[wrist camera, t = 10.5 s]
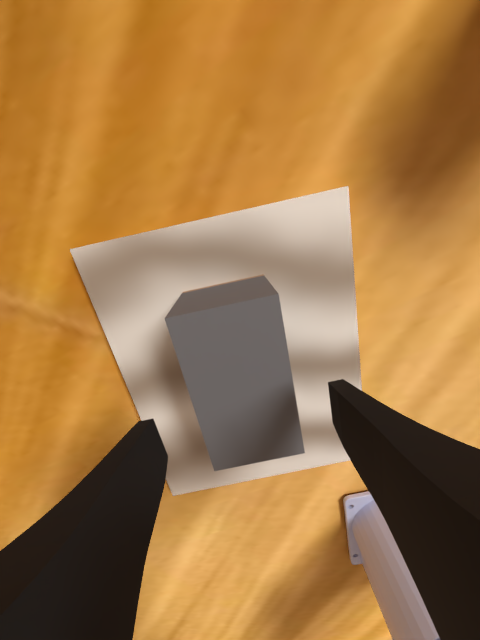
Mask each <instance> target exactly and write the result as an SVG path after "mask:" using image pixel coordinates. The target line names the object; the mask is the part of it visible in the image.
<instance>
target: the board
mask: <svg viewBox="0 0 480 640" xmlns="http://www.w3.org/2000/svg"><path fill="white" fill-rule="evenodd" d="M70 251H71V254H72V256H73V259H74V261H75V263H76V266H77V268H78V271H79V273H80V275H81V278H82V280H83V282H84V285H85V287H86V290H87V292H88V294H89V297H90V299H91V302H92V304H93V306H94V309H95V311H96V313H97V316H98V318H99V321H100V323H101V325H102V328H103V330H104V333H105V335H106V337H107V340H108V342H109V345H110V347H111V349H112V352H113V354H114V356H115V359H116V361H117V364H118V366H119V368H120V371H121V373H122V376H123V378H124V380H125V383H126V385H127V387H128V390H129V392H130V395H131V397H132V399H133V402H134V404H135V407H136V409H137V411H138V414H139V416H140V419H141V421H143V420H148V419H154V422H155V424H156V427H157V429H158V432H159V434H160V437H161V439H162V442H163V444H164V447H165V449H166V452H167V454H168V463H167V472H166V481H167V483H168V485H169V488H170V490H171V493H172V495H173V496H175V495H180V494H185V493H190V492H195V491H200V490H205V489H210V488H215V487H220V486H225V485H230V484H235V483H240V482H245V481H250V480H255V479H260V478H264V477H269V476H274V475H279V474H284V473H289V472H294V471H299V470H304V469H309V468H314V467H319V466H324V465H329V464H334V463H339V462H344V461H349V460H350V458H349V456H348V455H347V453H346V451H345V449H344V448H343V445H342V443H341V441H340V439H339V437H338V434H337V432H336V430H335V427H334V425H333V422H332V413H331V405H330V396H329V388H328V382H331V381H336V380H341V379H344V380H345V381H347V382H349V383H350V384H352V385H353V386H355V387H356V388H358V389H360V390H361V391H362V385H361V370H360V355H359V340H358V325H357V310H356V294H355V279H354V264H353V249H352V234H351V219H350V204H349V189H348V186H346V187H341V188H337V189H333V190H328V191H324V192H320V193H315V194H311V195H306V196H302V197H298V198H293V199H289V200H284V201H280V202H276V203H271V204H267V205H262V206H258V207H254V208H249V209H245V210H241V211H236V212H232V213H227V214H223V215H219V216H214V217H210V218H205V219H201V220H197V221H192V222H188V223H183V224H179V225H175V226H170V227H166V228H161V229H157V230H153V231H148V232H144V233H140V234H135V235H131V236H126V237H122V238H118V239H113V240H109V241H104V242H100V243H96V244H91V245H87V246H82V247H78V248H74V249H70ZM262 274H264V276H265V277H266V278H267V280H268V281H269V282H270V283H271V285H272V286H273V287H274V289H275V290H276V291H277V292H278V294H279V299H280V305H281V311H282V317H283V323H284V329H285V335H286V341H287V347H288V354H289V360H290V366H291V372H292V378H293V384H294V390H295V396H296V402H297V408H298V414H299V420H300V426H301V432H302V438H303V444H304V451H305V453H303V454H298V455H293V456H288V457H284V458H279V459H274V460H269V461H264V462H259V463H254V464H249V465H244V466H239V467H234V468H229V469H224V470H219V471H214V469H213V466H212V463H211V459H210V456H209V453H208V450H207V447H206V444H205V441H204V438H203V435H202V432H201V429H200V426H199V423H198V420H197V417H196V413H195V410H194V407H193V404H192V401H191V398H190V395H189V392H188V389H187V386H186V383H185V380H184V377H183V374H182V371H181V367H180V364H179V361H178V358H177V355H176V352H175V349H174V346H173V343H172V340H171V337H170V334H169V331H168V328H167V325H166V322H165V317H166V316H167V314H168V313H169V311H170V310H171V308H172V307H173V305H174V304H175V303H176V301H177V300H178V298H179V297H180V295H181V294H182V292H184V291H189V290H194V289H198V288H203V287H207V286H212V285H216V284H221V283H226V282H230V281H235V280H239V279H244V278H249V277H253V276H258V275H262Z"/></svg>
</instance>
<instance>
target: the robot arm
mask: <svg viewBox="0 0 480 640" xmlns="http://www.w3.org/2000/svg"><path fill="white" fill-rule="evenodd" d="M328 388H329V396H330V405H331V413H332V422H333V425H334V427H335V430H336V432H337V434H338V437H339V439H340V441H341V443H342V445H343V448H344V449H345V451H346V453H347V455H348V456H349V458H350V460H351V461H352V463H353V465H354V467H355V468H356V470H357V472H358V473H359V475H360V477H361V478H362V480H363V482H364V484H365V485H366V487H367V489H368V490H369V491H367V492H362V493H357V494H351V495H347V496H345V497H344V499H343V503H344V512H345V521H346V530H347V539H348V547H349V556H350V561H351V563H352V564H353V565H358V564H363V567H364V569H365V572H366V574H367V577H368V579H369V582H370V584H371V587H372V589H373V592H374V594H375V597H376V599H377V602H378V604H379V607H380V609H381V612H382V614H383V617H384V619H385V622H386V624H387V627H388V629H389V632H390V634H391V636H392V639H393V640H480V449H478V448H475V447H472V446H470V445H467V444H465V443H462V442H460V441H457V440H455V439H452V438H450V437H448V436H446V435H443V434H441V433H439V432H437V431H434V430H432V429H430V428H428V427H426V426H424V425H422V424H419V423H417V422H416V421H414V420H412V419H410V418H408V417H406V416H404V415H402V414H400V413H398V412H397V411H395V410H393V409H391V408H389V407H388V406H386V405H384V404H382V403H381V402H379V401H377V400H376V399H374V398H372V397H371V396H369V395H368V394H366V393H364V392H363V391H361V390H360V389H358V388H356V387H355V386H353V385H352V384H350V383H349V382H347V381H345V380H344V379H341V380H336V381H331V382H328ZM167 463H168V454H167V452H166V449H165V447H164V444H163V442H162V439H161V437H160V434H159V432H158V429H157V427H156V424H155V422H154V419H148V420H143V421H139V422H138V423H137V424H136V425H135V426H134V427H133V428H132V429H131V430H130V431H129V432H128V433H127V434H126V435H125V436H124V437H123V438H122V439H121V440H120V441H119V442H118V444H117V445H116V446H115V447H114V448H113V449H112V450H111V451H110V452H109V453H108V454H107V455H106V456H105V457H104V459H103V460H102V461H101V462H100V463H99V464H98V465H97V466H96V467H95V468H94V469H93V470H92V471H91V472H90V473H89V474H88V475H87V476H86V477H85V478H84V479H83V480H82V481H81V482H80V483H79V484H78V485H77V486H76V487H75V488H74V489H73V490H72V491H71V492H70V493H69V494H68V495H66V496H65V497H64V498H63V499H62V500H61V501H60V502H59V503H58V504H57V505H55V506H54V507H53V508H52V509H51V510H50V511H49V512H48V513H46V514H45V515H44V516H43V517H42V518H41V519H39V520H38V521H37V522H36V523H35V524H33V525H32V526H31V527H30V528H28V529H27V530H26V531H25V532H23V533H22V534H21V535H20V536H19V537H17V538H16V539H15V540H14V541H12V542H11V543H10V544H9V545H7V546H6V547H5V548H4V549H2V550H1V551H0V640H132V639H133V632H134V625H135V619H136V612H137V606H138V599H139V593H140V588H141V582H142V576H143V570H144V565H145V560H146V556H147V551H148V547H149V543H150V539H151V535H152V531H153V528H154V524H155V520H156V516H157V512H158V508H159V504H160V501H161V497H162V493H163V489H164V484H165V478H166V472H167Z"/></svg>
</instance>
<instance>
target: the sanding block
mask: <svg viewBox="0 0 480 640" xmlns="http://www.w3.org/2000/svg"><path fill="white" fill-rule="evenodd" d="M165 322H166V325H167V328H168V331H169V334H170V337H171V340H172V343H173V346H174V349H175V352H176V355H177V358H178V361H179V364H180V367H181V371H182V374H183V377H184V380H185V383H186V386H187V389H188V392H189V395H190V398H191V401H192V404H193V407H194V410H195V413H196V417H197V420H198V423H199V426H200V429H201V432H202V435H203V438H204V441H205V444H206V447H207V450H208V453H209V456H210V459H211V463H212V466H213V469H214V471H219V470H224V469H229V468H234V467H239V466H244V465H249V464H254V463H259V462H264V461H269V460H274V459H279V458H284V457H288V456H293V455H298V454H303V453H305V451H304V444H303V438H302V432H301V426H300V420H299V414H298V408H297V402H296V396H295V390H294V384H293V378H292V372H291V366H290V360H289V354H288V347H287V341H286V335H285V329H284V323H283V317H282V311H281V305H280V299H279V294H278V292H277V291H276V290H275V289H274V287H273V286H272V285H271V283H270V282H269V281H268V280H267V278H266V277H265V276H264V274H262V275H258V276H253V277H249V278H244V279H239V280H235V281H230V282H226V283H221V284H216V285H212V286H207V287H203V288H198V289H194V290H189V291H184V292H182V294H181V295H180V297H179V298H178V300H177V301H176V303H175V304H174V305H173V307H172V308H171V310H170V311H169V313H168V314H167V316H166V317H165Z"/></svg>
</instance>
